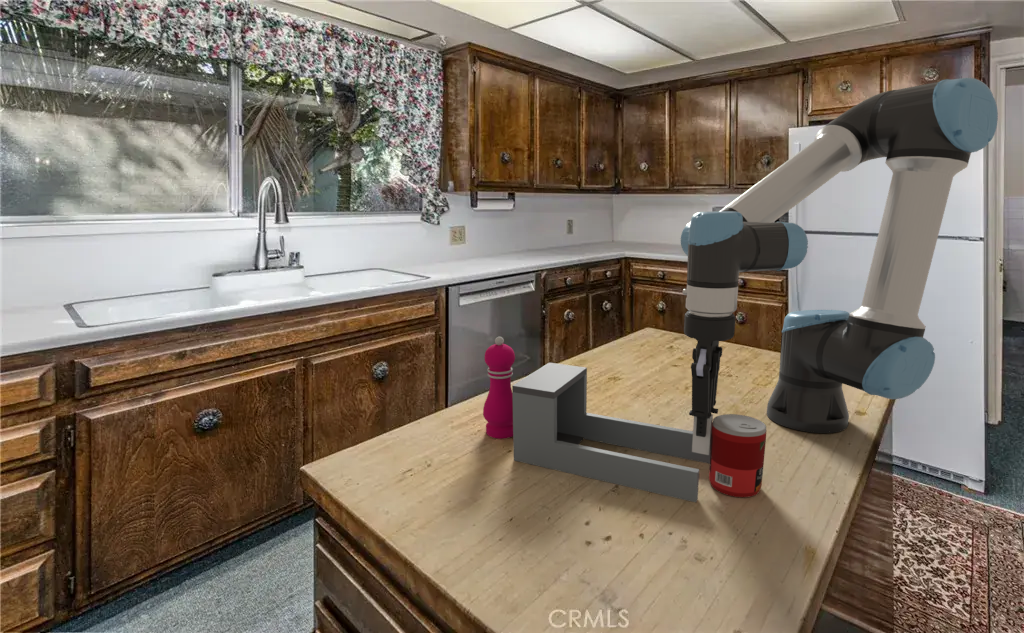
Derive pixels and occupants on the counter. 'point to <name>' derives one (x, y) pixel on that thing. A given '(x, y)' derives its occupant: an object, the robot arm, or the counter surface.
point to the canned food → (737, 455)
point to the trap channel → (595, 437)
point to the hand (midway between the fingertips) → (701, 451)
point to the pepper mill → (499, 390)
